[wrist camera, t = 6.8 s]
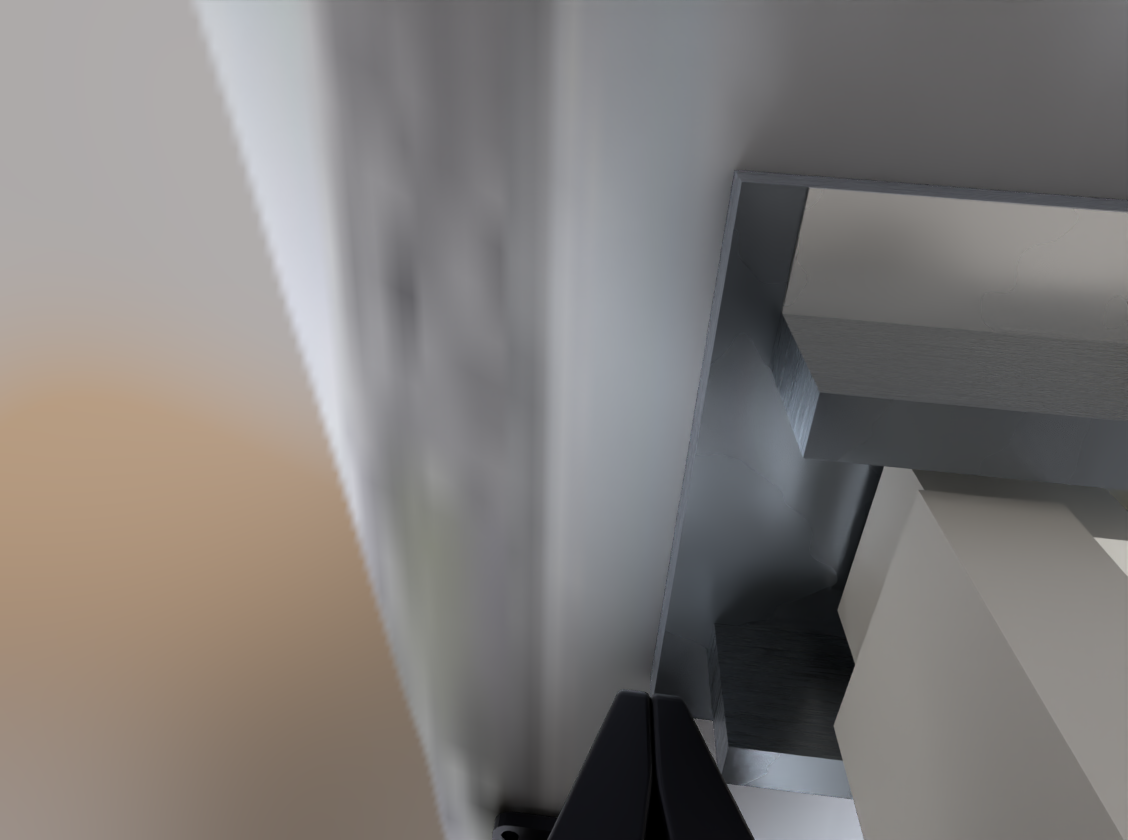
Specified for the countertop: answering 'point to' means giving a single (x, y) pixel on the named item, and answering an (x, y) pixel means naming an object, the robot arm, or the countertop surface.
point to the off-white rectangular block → (987, 661)
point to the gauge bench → (869, 422)
